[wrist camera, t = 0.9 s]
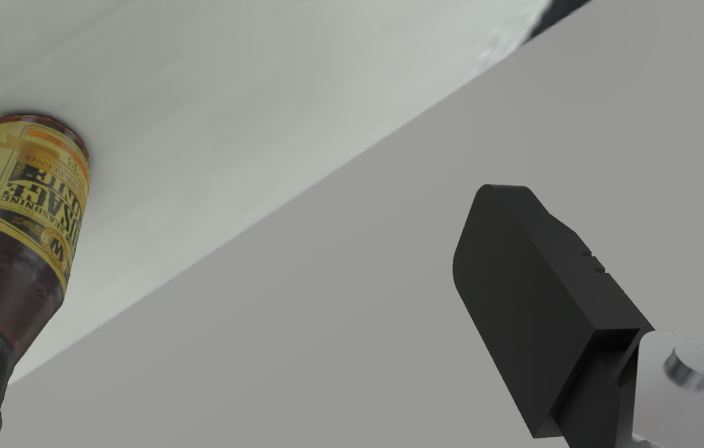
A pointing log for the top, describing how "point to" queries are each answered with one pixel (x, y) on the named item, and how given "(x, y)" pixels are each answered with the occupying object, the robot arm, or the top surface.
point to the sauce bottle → (36, 227)
